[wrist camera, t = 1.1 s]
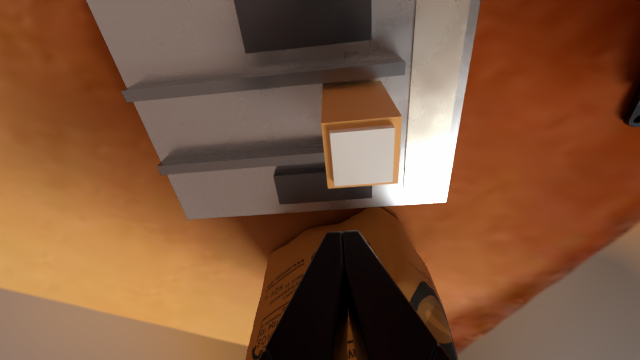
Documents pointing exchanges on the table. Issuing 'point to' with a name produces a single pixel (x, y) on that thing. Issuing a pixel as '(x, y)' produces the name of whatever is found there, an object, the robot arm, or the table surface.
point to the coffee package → (390, 250)
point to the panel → (287, 93)
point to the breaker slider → (360, 135)
